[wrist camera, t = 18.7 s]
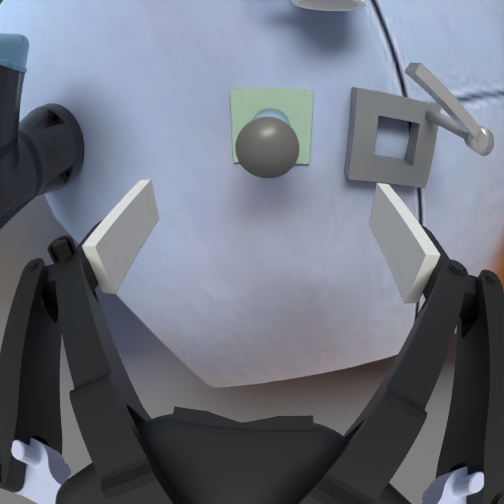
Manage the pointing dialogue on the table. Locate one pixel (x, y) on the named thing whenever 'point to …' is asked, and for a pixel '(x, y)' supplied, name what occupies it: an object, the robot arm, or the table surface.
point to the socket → (419, 146)
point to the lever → (453, 109)
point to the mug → (330, 4)
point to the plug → (267, 144)
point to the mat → (286, 100)
